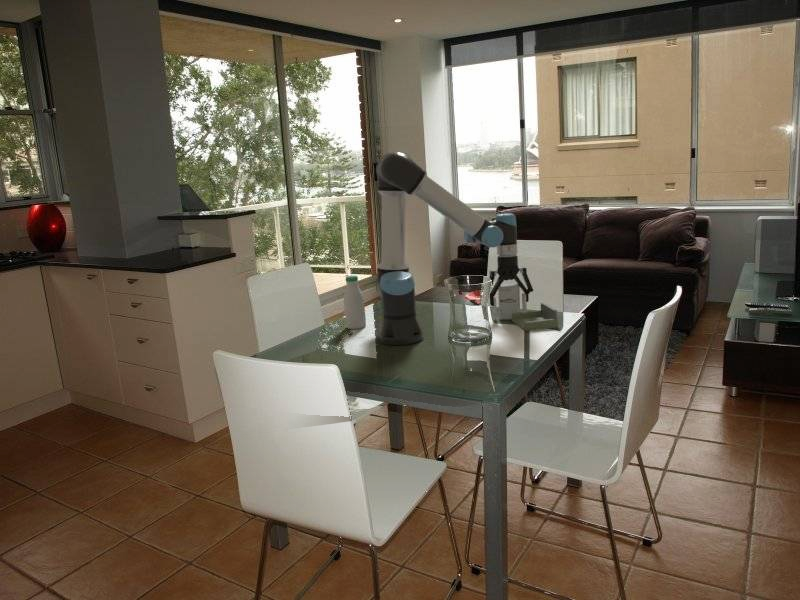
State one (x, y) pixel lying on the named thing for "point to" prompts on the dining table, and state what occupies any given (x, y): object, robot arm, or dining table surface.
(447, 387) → the dining table surface
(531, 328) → the chute mount
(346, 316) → the milk bottle
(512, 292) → the supplement box
